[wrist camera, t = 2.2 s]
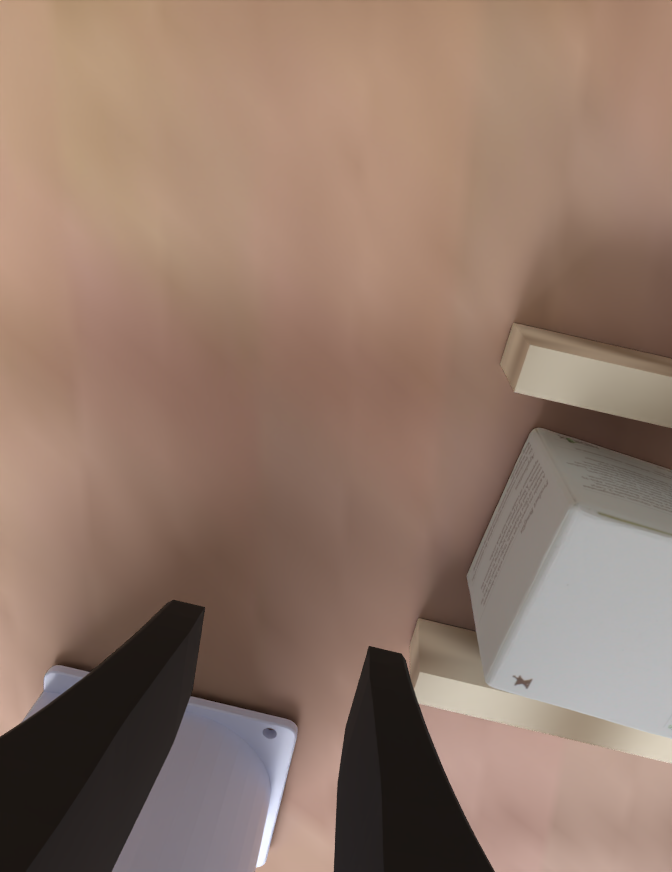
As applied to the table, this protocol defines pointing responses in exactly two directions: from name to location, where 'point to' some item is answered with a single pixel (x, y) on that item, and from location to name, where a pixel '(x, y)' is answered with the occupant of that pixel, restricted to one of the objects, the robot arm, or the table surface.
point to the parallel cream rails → (458, 648)
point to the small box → (580, 583)
